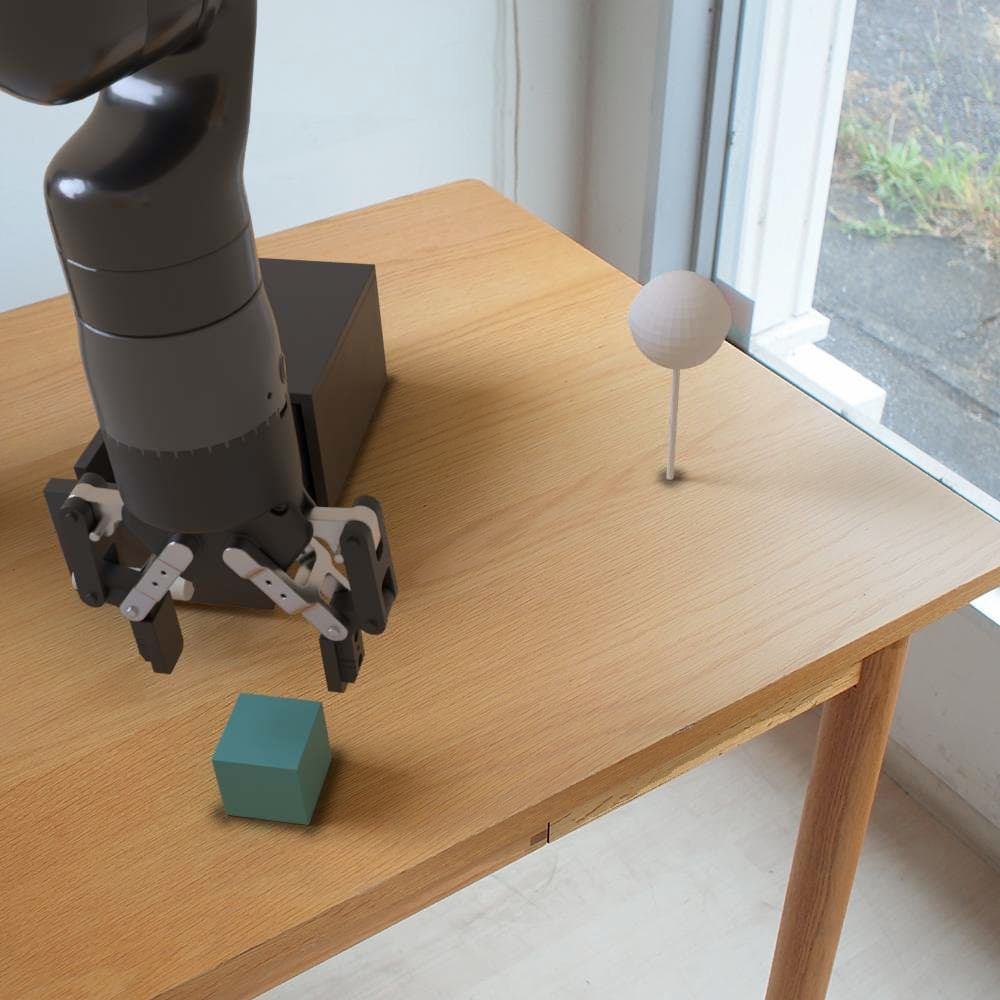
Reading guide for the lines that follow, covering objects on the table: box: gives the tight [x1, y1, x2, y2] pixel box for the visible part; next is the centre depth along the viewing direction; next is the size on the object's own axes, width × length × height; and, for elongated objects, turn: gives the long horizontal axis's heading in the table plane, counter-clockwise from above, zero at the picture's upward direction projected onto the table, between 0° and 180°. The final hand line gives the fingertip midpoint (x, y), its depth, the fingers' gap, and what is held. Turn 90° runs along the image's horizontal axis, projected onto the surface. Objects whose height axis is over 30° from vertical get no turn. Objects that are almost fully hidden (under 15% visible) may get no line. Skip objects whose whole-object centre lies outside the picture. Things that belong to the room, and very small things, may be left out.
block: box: [210, 692, 333, 826], centre depth 67 cm, size 4×4×4 cm
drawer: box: [42, 403, 314, 612], centre depth 79 cm, size 19×12×8 cm, turn 170°
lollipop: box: [626, 269, 733, 481], centre depth 82 cm, size 6×6×15 cm
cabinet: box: [258, 257, 388, 507], centre depth 89 cm, size 16×14×10 cm
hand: (255, 670), depth 63 cm, fingers open, 8 cm apart
